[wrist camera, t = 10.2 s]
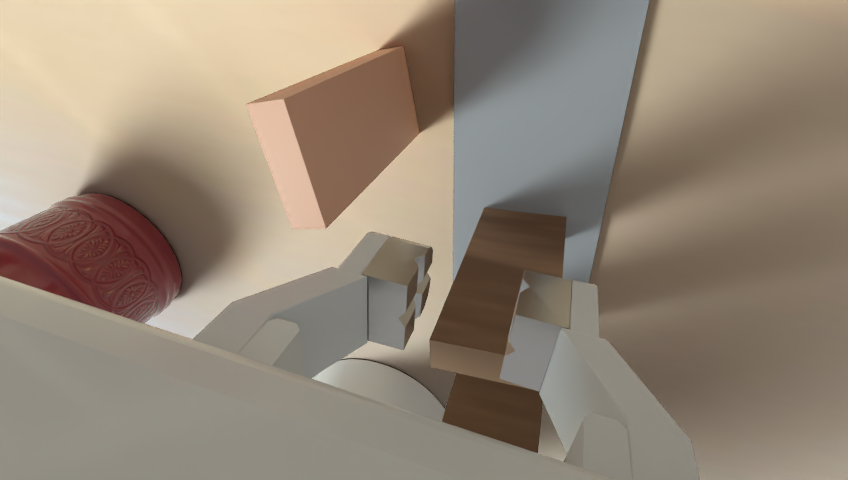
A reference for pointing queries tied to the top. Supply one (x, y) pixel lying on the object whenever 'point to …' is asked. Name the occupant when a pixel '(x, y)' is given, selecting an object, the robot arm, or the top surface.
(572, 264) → the mat
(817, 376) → the top surface
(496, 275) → the domino
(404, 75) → the domino
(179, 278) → the canister
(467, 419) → the domino
